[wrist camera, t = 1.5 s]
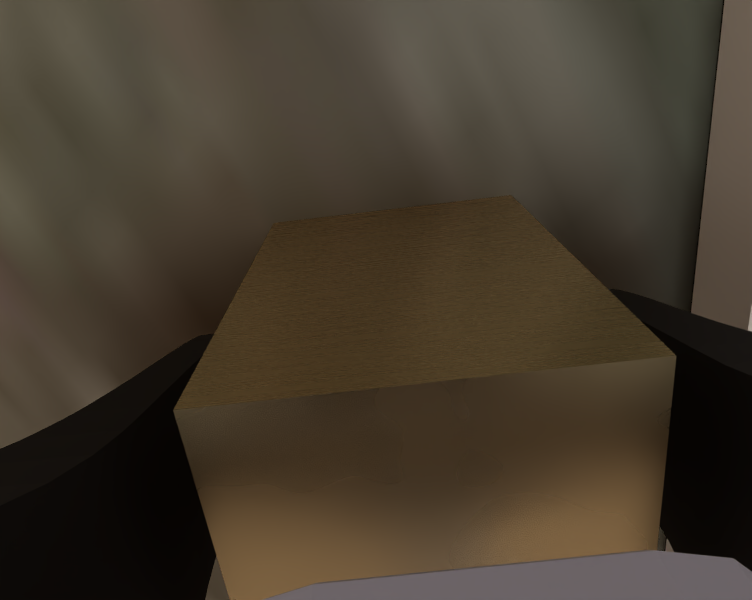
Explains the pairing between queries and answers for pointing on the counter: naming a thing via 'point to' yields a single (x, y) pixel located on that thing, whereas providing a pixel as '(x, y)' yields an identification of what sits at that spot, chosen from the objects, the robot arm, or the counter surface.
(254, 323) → the block
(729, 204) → the kitchen scale
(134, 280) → the counter surface
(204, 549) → the robot arm
